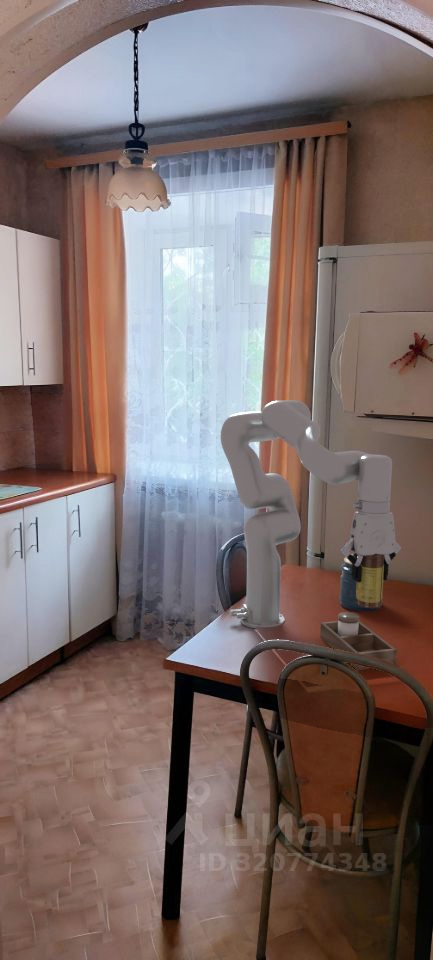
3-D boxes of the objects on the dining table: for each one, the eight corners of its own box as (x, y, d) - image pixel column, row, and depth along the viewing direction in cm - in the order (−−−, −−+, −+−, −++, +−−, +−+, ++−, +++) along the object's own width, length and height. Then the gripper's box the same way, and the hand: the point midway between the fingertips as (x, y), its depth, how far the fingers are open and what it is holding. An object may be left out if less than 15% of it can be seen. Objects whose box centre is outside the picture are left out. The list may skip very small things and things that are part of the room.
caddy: (355, 673, 157) (356, 654, 156) (320, 639, 176) (320, 622, 175) (395, 668, 160) (396, 649, 159) (356, 636, 179) (357, 619, 178)
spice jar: (342, 648, 169) (343, 620, 168) (333, 639, 174) (334, 613, 173) (361, 645, 171) (363, 618, 169) (352, 637, 176) (353, 611, 174)
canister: (389, 604, 204) (393, 549, 201) (368, 615, 194) (372, 557, 191) (352, 595, 212) (355, 541, 209) (330, 605, 203) (333, 549, 200)
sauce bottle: (364, 598, 165) (369, 521, 162) (386, 605, 161) (391, 525, 158) (349, 604, 161) (354, 525, 157) (372, 611, 156) (377, 529, 153)
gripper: (347, 511, 151) (344, 587, 154) (414, 508, 156) (409, 581, 158) (333, 505, 158) (330, 577, 161) (397, 502, 163) (393, 572, 166)
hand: (369, 579), depth 160 cm, fingers closed on sauce bottle, 6 cm apart
